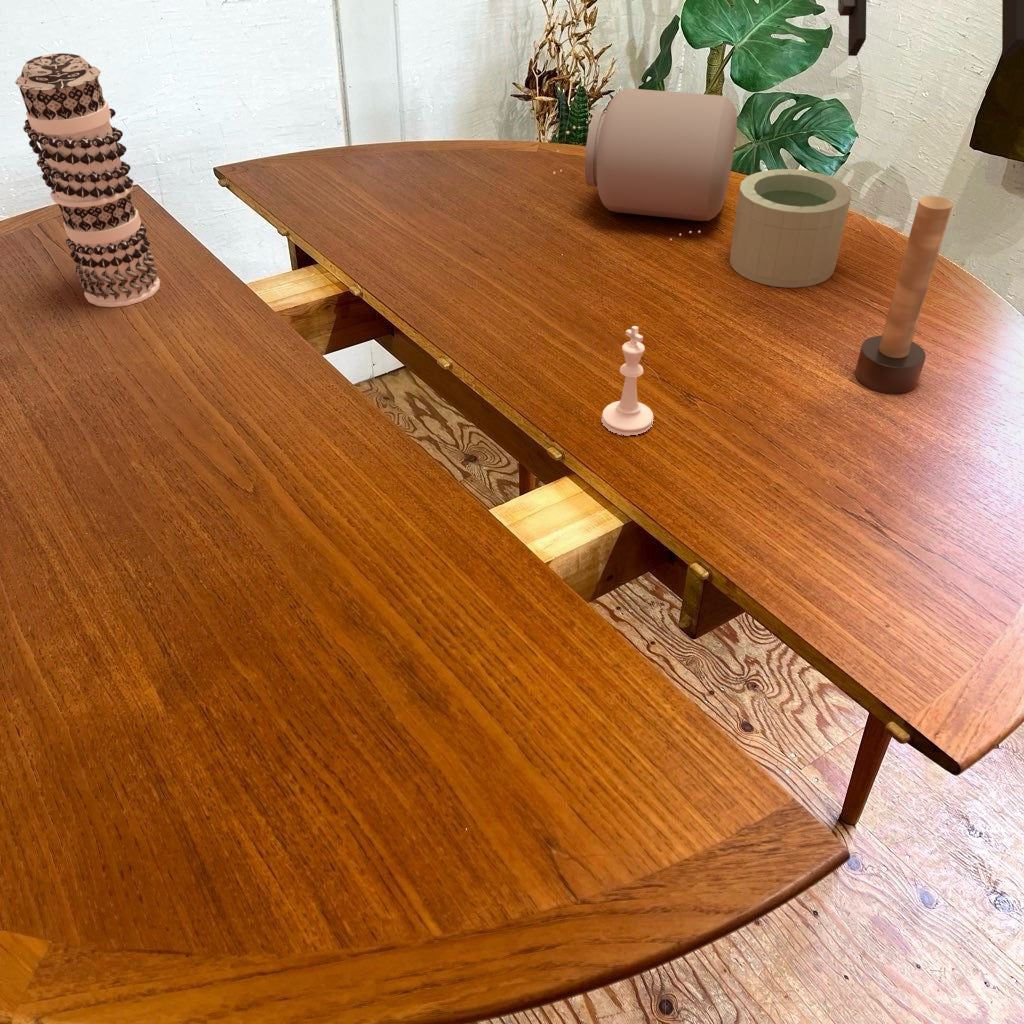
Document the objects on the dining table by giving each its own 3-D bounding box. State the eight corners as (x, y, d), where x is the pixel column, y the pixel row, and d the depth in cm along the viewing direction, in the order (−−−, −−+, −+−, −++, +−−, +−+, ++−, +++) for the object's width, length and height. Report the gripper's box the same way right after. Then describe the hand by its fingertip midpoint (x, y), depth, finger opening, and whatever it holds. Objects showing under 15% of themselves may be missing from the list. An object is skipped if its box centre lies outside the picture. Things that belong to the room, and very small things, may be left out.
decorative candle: (77, 280, 113) (1, 54, 97) (158, 265, 116) (96, 42, 100) (84, 315, 107) (3, 79, 91) (169, 298, 110) (105, 66, 93)
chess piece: (627, 399, 93) (634, 307, 86) (664, 422, 90) (675, 328, 84) (590, 419, 91) (595, 326, 84) (627, 443, 88) (635, 348, 81)
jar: (700, 225, 111) (506, 163, 117) (700, 274, 125) (527, 216, 131) (762, 80, 112) (567, 25, 118) (755, 145, 127) (582, 93, 132)
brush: (915, 364, 97) (968, 191, 85) (919, 397, 93) (976, 219, 81) (853, 357, 98) (898, 186, 86) (855, 389, 94) (902, 213, 82)
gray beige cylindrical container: (834, 246, 118) (850, 173, 112) (834, 292, 109) (852, 216, 103) (733, 236, 120) (743, 165, 114) (725, 281, 111) (736, 206, 105)
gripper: (1057, -148, 90) (1057, 71, 88) (787, -146, 91) (783, 69, 90) (1102, -214, 82) (1103, 24, 81) (806, -211, 84) (802, 23, 82)
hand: (934, 48), depth 85 cm, fingers open, 13 cm apart
